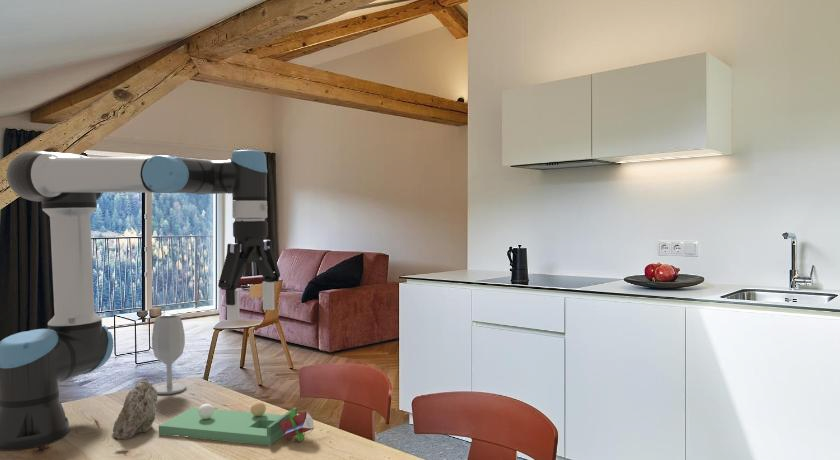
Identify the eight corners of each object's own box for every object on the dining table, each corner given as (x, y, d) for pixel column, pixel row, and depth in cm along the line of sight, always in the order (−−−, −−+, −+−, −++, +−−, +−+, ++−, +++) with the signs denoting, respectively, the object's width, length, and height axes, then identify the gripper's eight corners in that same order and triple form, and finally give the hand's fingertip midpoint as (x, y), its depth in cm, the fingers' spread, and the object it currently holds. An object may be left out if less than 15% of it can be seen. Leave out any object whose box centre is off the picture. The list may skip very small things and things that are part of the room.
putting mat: (158, 434, 140) (158, 416, 140) (193, 415, 153) (193, 399, 153) (270, 445, 133) (270, 427, 133) (297, 424, 146) (296, 407, 146)
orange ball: (247, 418, 145) (247, 403, 145) (255, 413, 148) (255, 398, 148) (261, 419, 144) (261, 404, 144) (268, 414, 147) (268, 399, 147)
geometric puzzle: (268, 435, 133) (290, 406, 133) (276, 424, 140) (297, 396, 140) (295, 455, 133) (317, 426, 133) (302, 443, 140) (322, 415, 140)
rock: (156, 412, 137) (118, 403, 135) (142, 451, 139) (105, 444, 137) (168, 381, 150) (134, 373, 148) (156, 418, 152) (122, 410, 150)
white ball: (195, 420, 143) (194, 405, 143) (204, 415, 147) (203, 401, 147) (208, 421, 142) (208, 407, 142) (217, 416, 146) (216, 402, 146)
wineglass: (145, 393, 171) (143, 318, 170) (167, 385, 179) (166, 313, 178) (171, 396, 168) (169, 320, 167) (192, 387, 176) (191, 314, 176)
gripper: (230, 221, 125) (231, 325, 126) (294, 218, 148) (295, 306, 149) (199, 221, 127) (201, 323, 128) (267, 218, 151) (268, 305, 152)
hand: (251, 314), depth 139 cm, fingers open, 13 cm apart
